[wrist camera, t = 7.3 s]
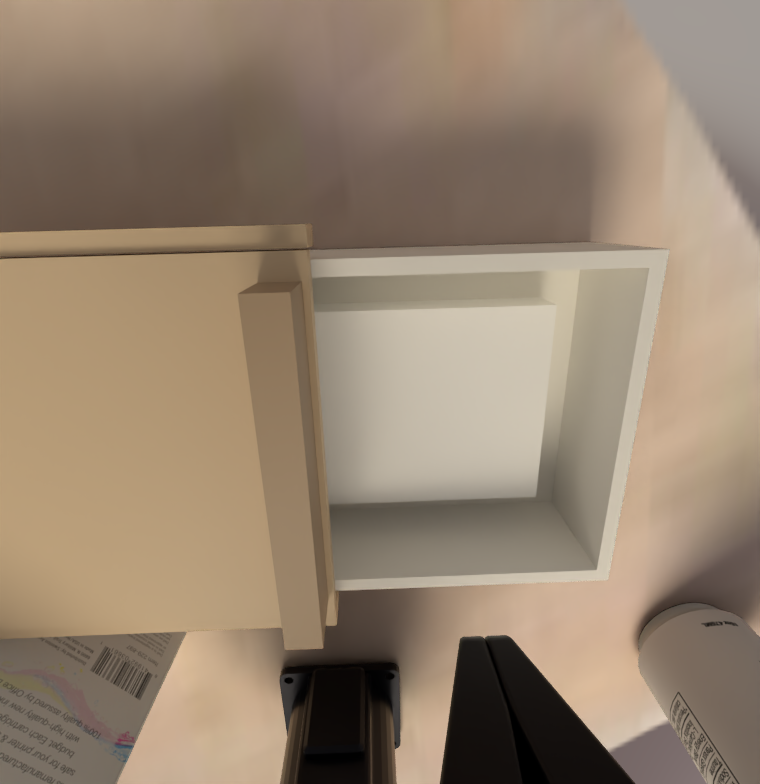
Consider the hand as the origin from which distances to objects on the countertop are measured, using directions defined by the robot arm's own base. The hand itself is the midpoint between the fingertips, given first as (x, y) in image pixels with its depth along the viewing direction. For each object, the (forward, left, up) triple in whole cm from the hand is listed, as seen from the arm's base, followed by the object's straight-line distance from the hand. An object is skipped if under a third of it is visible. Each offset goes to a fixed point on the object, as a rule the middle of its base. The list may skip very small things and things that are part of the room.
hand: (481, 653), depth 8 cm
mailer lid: (0, +11, -9) cm, 14 cm away
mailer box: (0, 0, -13) cm, 13 cm away
